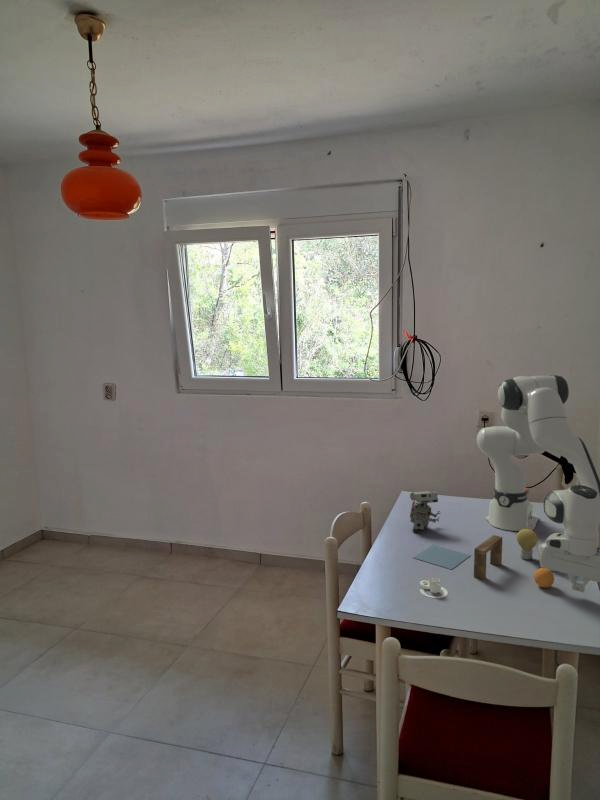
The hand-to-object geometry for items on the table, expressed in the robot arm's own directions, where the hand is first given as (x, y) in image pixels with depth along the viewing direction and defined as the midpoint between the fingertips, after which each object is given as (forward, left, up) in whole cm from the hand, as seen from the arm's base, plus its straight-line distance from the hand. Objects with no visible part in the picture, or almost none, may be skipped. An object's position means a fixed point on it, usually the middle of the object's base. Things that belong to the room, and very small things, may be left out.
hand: (578, 590), depth 154 cm
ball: (0, -10, +1) cm, 10 cm away
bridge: (0, -27, -2) cm, 27 cm away
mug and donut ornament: (+20, -34, -3) cm, 39 cm away
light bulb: (-17, -21, -2) cm, 27 cm away
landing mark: (0, -43, -2) cm, 43 cm away
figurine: (-19, -60, -2) cm, 63 cm away
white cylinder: (-15, -13, -2) cm, 20 cm away
